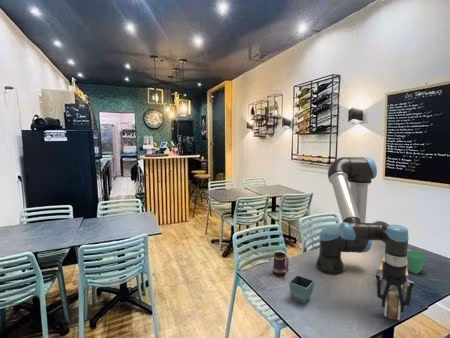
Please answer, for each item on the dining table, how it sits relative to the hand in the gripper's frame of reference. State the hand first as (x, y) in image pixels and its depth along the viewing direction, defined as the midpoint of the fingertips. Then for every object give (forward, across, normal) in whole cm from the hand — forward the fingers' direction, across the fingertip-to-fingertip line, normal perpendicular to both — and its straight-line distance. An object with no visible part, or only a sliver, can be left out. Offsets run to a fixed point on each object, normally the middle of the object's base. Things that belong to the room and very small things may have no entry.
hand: (391, 316), depth 111 cm
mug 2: (+1, +9, +54) cm, 55 cm away
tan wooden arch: (+1, 0, +34) cm, 34 cm away
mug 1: (+1, -52, +9) cm, 53 cm away
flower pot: (+1, -36, -7) cm, 37 cm away
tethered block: (+1, 0, +11) cm, 11 cm away
